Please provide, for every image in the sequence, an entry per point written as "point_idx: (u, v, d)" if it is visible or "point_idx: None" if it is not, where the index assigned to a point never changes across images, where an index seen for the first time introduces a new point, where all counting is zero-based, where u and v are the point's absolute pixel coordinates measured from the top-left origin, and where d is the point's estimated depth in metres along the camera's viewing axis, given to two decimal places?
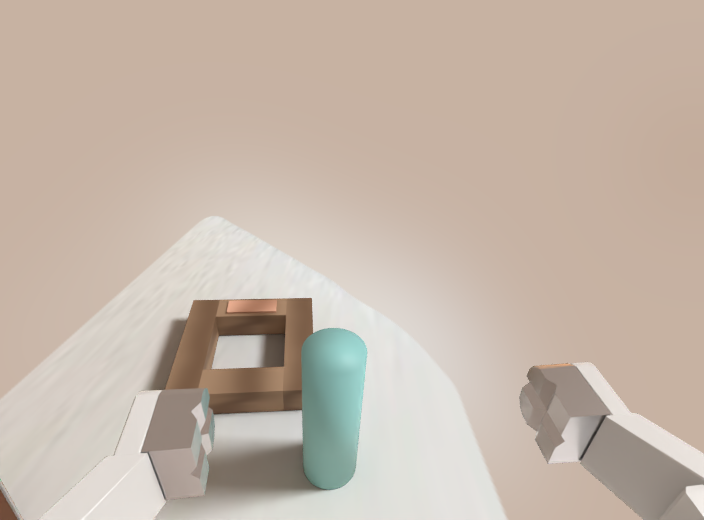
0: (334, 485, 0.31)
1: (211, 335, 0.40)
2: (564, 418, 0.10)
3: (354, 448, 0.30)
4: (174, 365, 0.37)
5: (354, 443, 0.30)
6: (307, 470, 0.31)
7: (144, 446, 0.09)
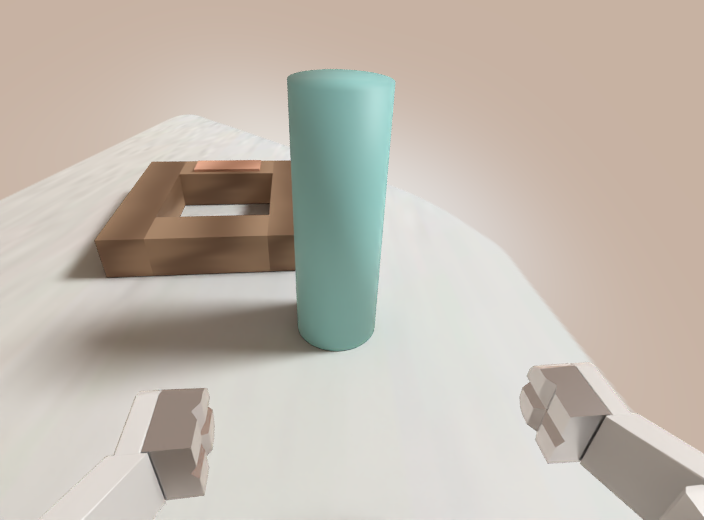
0: (345, 343, 0.21)
1: (171, 190, 0.30)
2: (564, 418, 0.10)
3: (374, 278, 0.20)
4: (116, 213, 0.27)
5: (374, 267, 0.19)
6: (304, 323, 0.21)
7: (144, 446, 0.09)
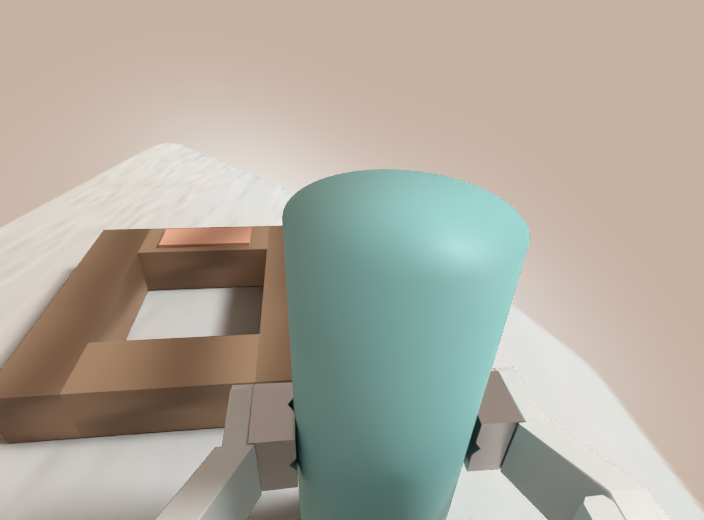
0: None
1: (123, 282, 0.21)
2: (478, 425, 0.10)
3: None
4: (30, 335, 0.18)
5: (445, 518, 0.11)
6: None
7: (250, 438, 0.09)
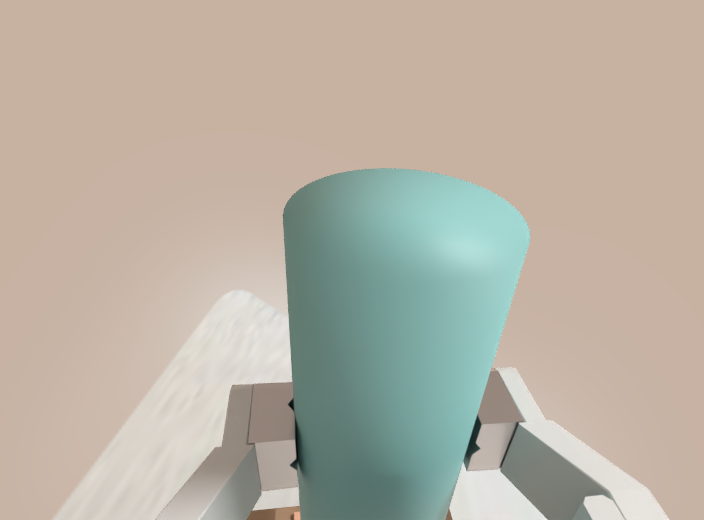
0: None
1: None
2: (478, 425, 0.10)
3: None
4: None
5: (444, 517, 0.11)
6: None
7: (250, 438, 0.09)
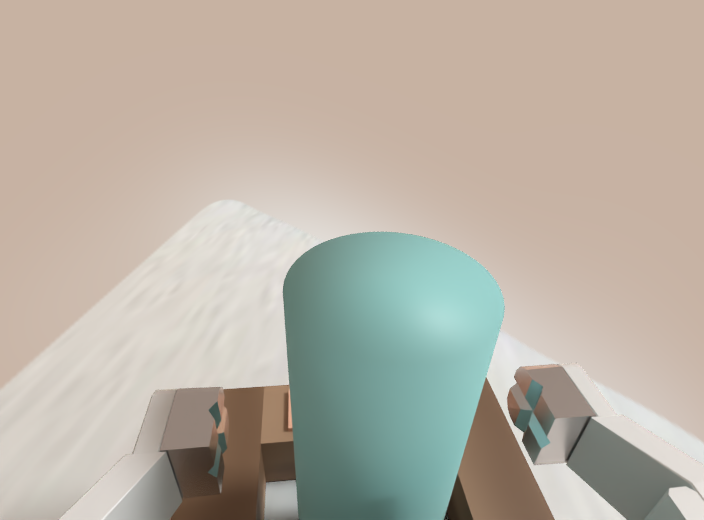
0: None
1: (255, 516, 0.14)
2: (549, 419, 0.10)
3: None
4: None
5: None
6: None
7: (163, 444, 0.09)
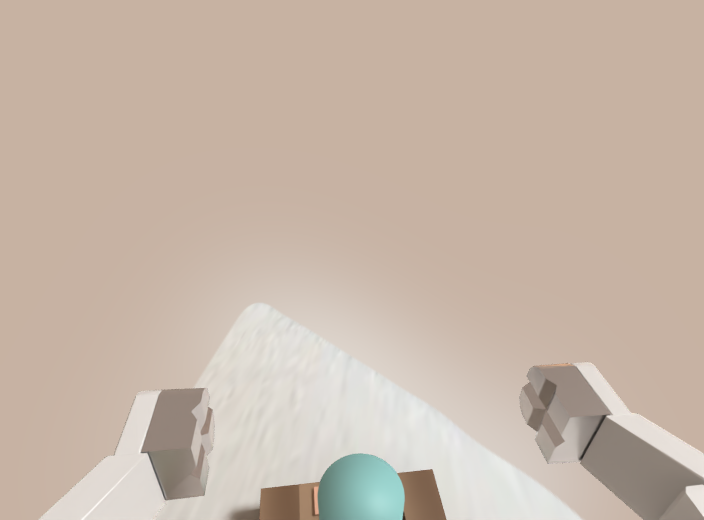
0: None
1: None
2: (564, 418, 0.10)
3: None
4: None
5: None
6: None
7: (144, 446, 0.09)
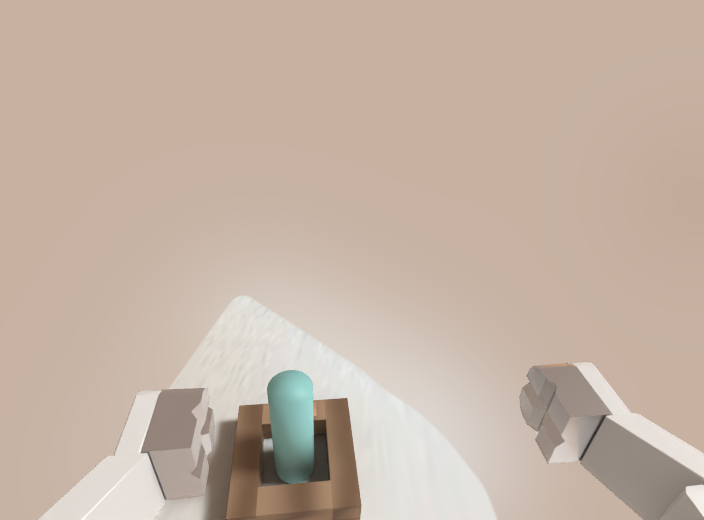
0: (297, 480, 0.43)
1: (260, 446, 0.44)
2: (564, 418, 0.10)
3: (310, 453, 0.42)
4: (231, 483, 0.41)
5: (309, 450, 0.42)
6: (277, 470, 0.43)
7: (144, 446, 0.09)
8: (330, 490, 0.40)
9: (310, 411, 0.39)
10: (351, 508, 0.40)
